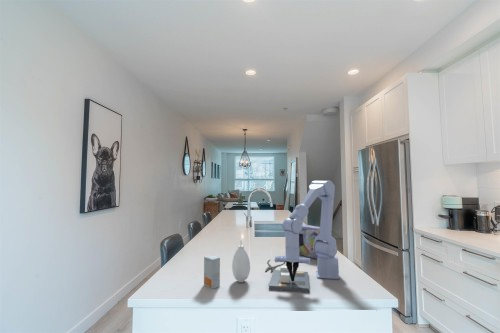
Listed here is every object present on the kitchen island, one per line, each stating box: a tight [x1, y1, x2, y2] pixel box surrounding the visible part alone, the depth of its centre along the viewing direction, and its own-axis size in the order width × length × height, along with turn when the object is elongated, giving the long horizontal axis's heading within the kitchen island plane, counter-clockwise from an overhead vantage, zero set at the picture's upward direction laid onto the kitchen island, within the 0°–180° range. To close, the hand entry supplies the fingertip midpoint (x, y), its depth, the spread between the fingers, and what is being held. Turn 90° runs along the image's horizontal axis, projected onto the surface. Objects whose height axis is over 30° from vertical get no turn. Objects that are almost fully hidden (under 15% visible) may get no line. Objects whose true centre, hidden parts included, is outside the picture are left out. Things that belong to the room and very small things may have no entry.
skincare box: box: [203, 254, 221, 290], centre depth 108 cm, size 6×4×12 cm
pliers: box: [264, 259, 286, 274], centre depth 133 cm, size 10×1×20 cm
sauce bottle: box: [231, 241, 251, 283], centre depth 113 cm, size 8×8×18 cm
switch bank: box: [268, 269, 310, 293], centre depth 112 cm, size 16×19×2 cm
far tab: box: [279, 265, 289, 274], centre depth 117 cm, size 4×3×3 cm
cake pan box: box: [299, 223, 320, 260], centre depth 152 cm, size 19×5×18 cm, turn 37°
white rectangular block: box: [281, 272, 290, 283], centre depth 108 cm, size 4×3×3 cm
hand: (292, 280), depth 108 cm, fingers closed
